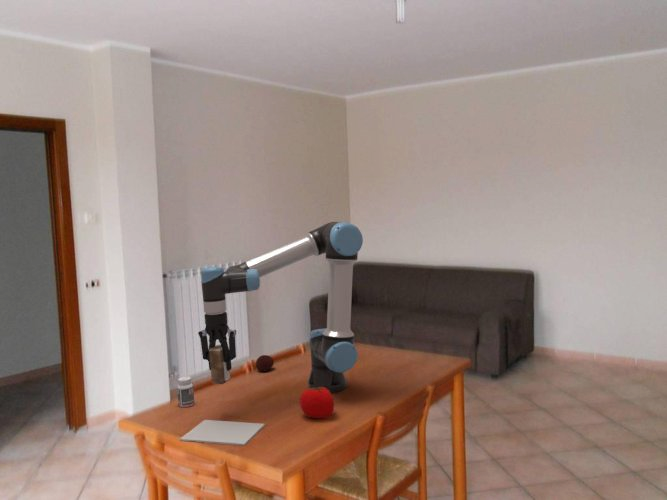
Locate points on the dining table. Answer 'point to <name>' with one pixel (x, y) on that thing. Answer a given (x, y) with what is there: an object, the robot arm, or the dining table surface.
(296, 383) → the dining table surface
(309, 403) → the tomato
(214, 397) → the dining table surface
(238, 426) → the mat
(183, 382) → the pill bottle
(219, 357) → the slab
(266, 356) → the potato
